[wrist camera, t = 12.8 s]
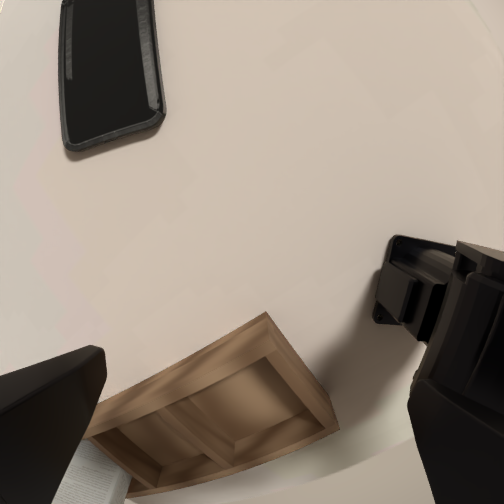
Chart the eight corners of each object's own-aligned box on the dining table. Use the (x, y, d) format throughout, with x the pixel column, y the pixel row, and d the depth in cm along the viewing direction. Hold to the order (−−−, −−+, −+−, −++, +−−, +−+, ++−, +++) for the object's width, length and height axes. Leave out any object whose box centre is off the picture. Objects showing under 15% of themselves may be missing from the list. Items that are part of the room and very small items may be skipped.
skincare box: (84, 456, 24) (46, 536, 12) (76, 432, 23) (28, 517, 11) (136, 472, 24) (107, 561, 12) (131, 449, 23) (95, 547, 11)
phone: (148, -40, 14) (165, 122, 17) (152, -33, 15) (170, 125, 18) (61, -4, 14) (62, 155, 18) (67, 1, 15) (70, 156, 19)
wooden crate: (265, 311, 21) (269, 345, 16) (329, 396, 23) (341, 434, 18) (53, 424, 24) (35, 450, 20) (113, 477, 26) (103, 504, 22)
